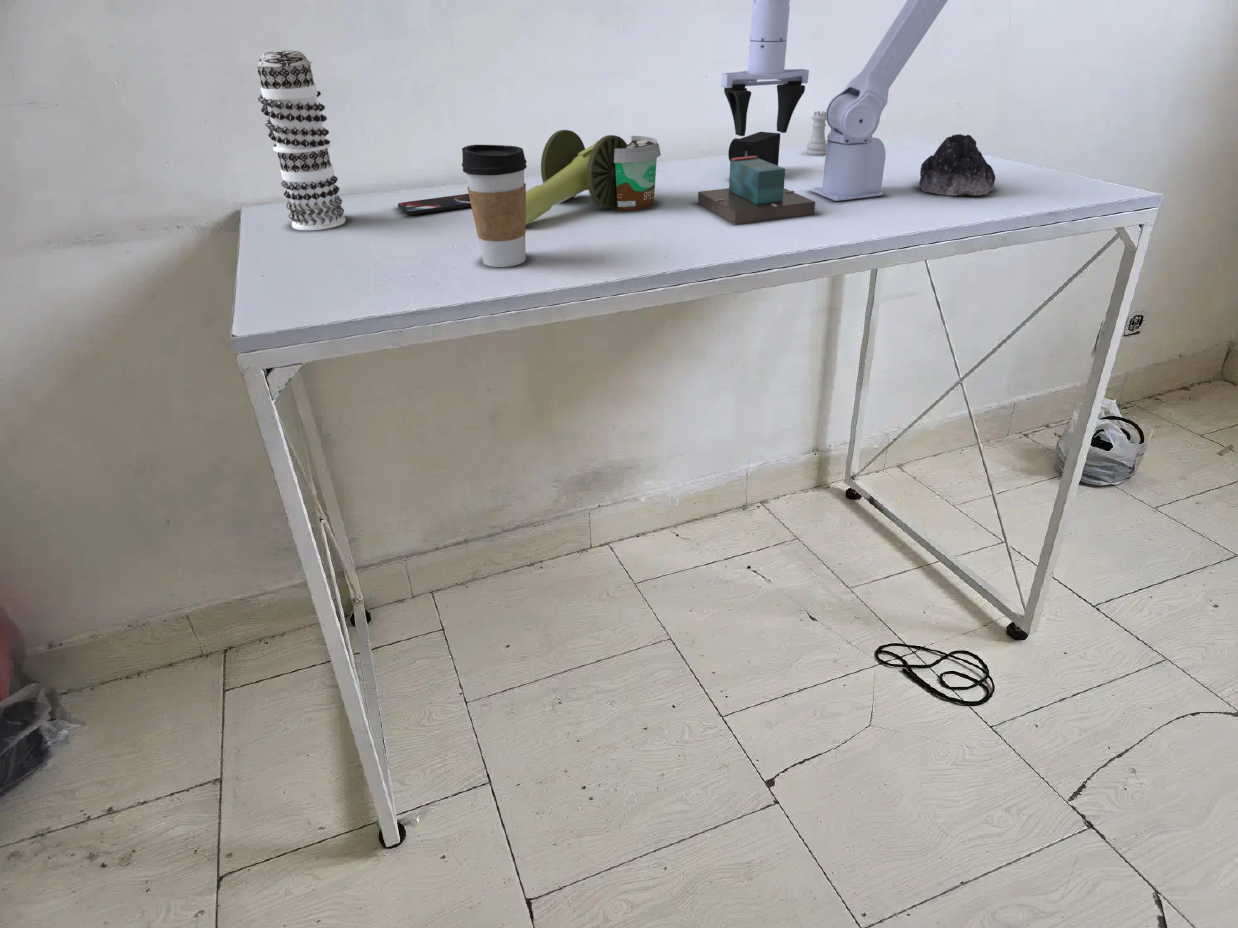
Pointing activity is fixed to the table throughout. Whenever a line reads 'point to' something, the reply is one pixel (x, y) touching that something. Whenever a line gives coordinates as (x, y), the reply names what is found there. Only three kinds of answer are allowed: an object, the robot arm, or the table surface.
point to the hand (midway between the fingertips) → (761, 133)
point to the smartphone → (435, 204)
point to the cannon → (574, 173)
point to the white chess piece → (817, 135)
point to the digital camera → (757, 147)
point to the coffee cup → (498, 201)
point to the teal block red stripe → (756, 180)
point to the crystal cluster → (957, 169)
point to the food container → (636, 173)
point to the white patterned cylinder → (299, 140)
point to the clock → (754, 206)
